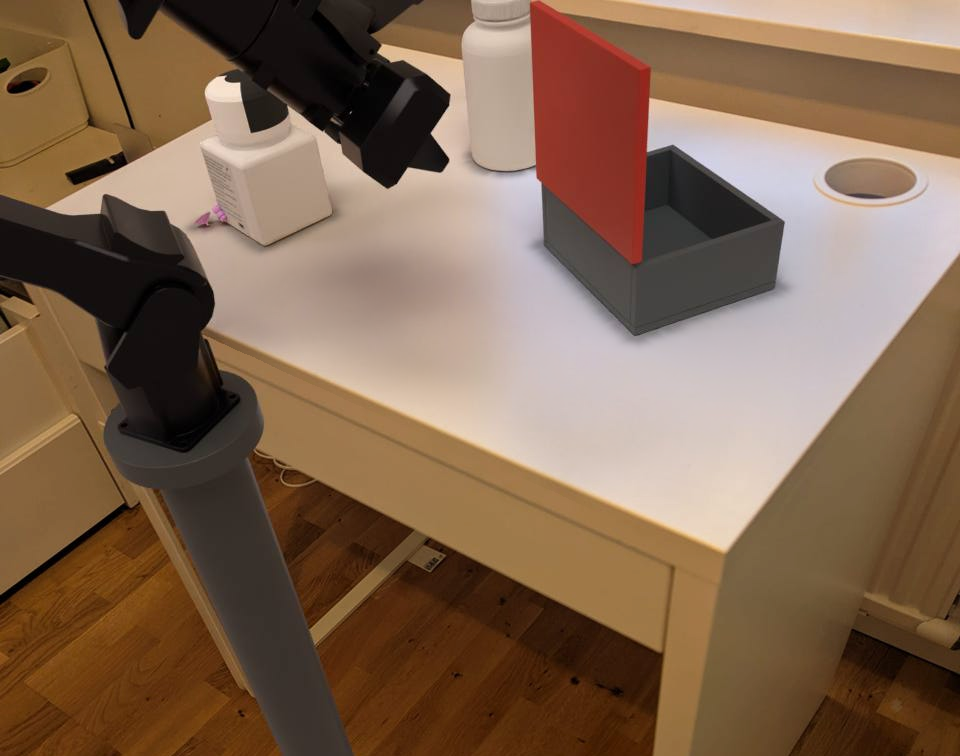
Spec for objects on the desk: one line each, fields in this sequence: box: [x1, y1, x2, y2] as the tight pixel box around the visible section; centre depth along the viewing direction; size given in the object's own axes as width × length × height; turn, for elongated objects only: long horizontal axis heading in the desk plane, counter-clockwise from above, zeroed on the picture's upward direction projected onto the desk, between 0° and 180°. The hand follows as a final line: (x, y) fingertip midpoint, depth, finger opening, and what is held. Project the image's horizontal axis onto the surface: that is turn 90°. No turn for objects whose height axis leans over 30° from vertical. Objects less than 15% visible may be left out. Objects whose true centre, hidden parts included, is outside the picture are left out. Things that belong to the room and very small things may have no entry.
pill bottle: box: [461, 0, 536, 172], centre depth 88 cm, size 8×8×15 cm
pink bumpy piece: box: [194, 204, 227, 226], centre depth 87 cm, size 3×2×2 cm
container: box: [199, 68, 333, 247], centre depth 83 cm, size 8×8×13 cm
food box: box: [540, 144, 786, 336], centre depth 74 cm, size 12×15×6 cm
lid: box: [530, 0, 652, 264], centre depth 66 cm, size 13×15×1 cm
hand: (443, 165), depth 63 cm, fingers closed
